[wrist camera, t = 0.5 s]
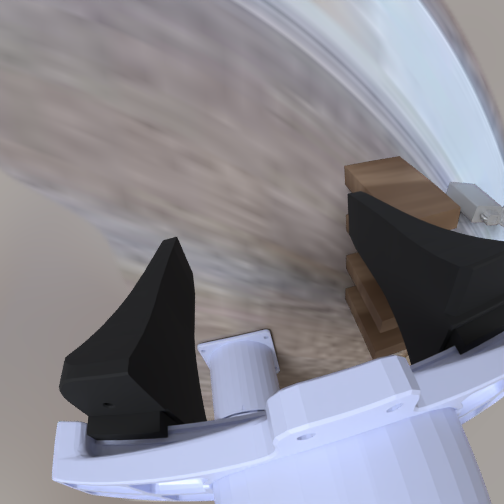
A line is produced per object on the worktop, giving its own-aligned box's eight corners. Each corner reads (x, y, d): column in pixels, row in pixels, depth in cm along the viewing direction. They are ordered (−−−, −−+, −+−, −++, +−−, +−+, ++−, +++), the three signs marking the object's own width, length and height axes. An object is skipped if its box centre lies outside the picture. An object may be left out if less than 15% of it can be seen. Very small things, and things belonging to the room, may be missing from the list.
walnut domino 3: (386, 286, 32) (419, 343, 26) (345, 298, 32) (373, 360, 26) (388, 276, 31) (423, 333, 25) (345, 288, 31) (375, 351, 25)
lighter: (444, 197, 26) (496, 248, 19) (449, 181, 25) (504, 231, 18) (486, 199, 27) (533, 243, 20) (491, 185, 26) (540, 228, 19)
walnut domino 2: (391, 255, 29) (431, 314, 23) (346, 268, 29) (380, 333, 23) (393, 242, 28) (435, 302, 22) (346, 255, 28) (382, 321, 22)
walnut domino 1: (398, 173, 23) (456, 227, 17) (345, 184, 23) (395, 245, 17) (399, 156, 22) (460, 207, 16) (344, 166, 22) (397, 223, 16)
